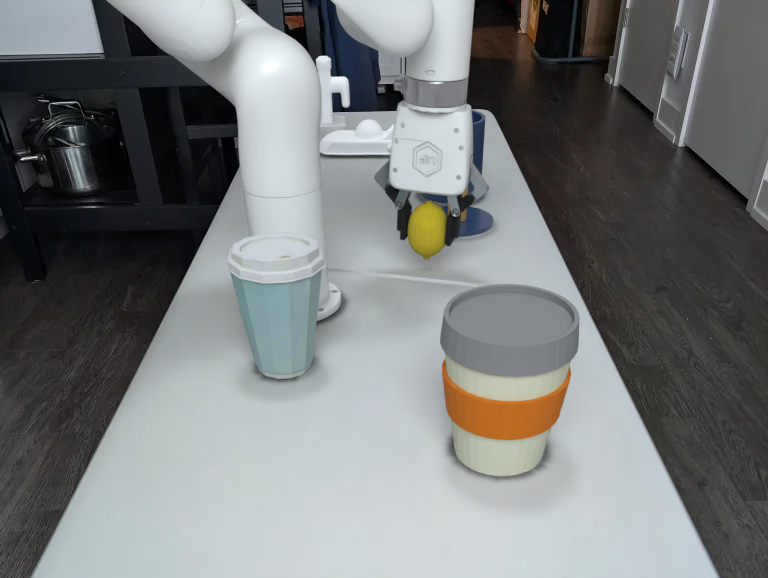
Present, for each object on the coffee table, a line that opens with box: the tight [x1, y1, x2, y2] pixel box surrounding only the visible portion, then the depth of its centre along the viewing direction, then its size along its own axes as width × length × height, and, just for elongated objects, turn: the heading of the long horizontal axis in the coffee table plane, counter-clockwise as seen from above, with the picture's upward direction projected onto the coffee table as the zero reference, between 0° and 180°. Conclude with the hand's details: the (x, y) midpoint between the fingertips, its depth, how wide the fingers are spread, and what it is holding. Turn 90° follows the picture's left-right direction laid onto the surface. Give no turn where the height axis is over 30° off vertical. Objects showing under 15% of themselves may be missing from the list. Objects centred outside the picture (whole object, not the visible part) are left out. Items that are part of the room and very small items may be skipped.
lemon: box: [407, 199, 447, 261], centre depth 107 cm, size 6×6×8 cm
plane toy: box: [320, 118, 394, 156], centre depth 154 cm, size 10×20×6 cm, turn 84°
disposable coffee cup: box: [226, 232, 325, 380], centre depth 89 cm, size 11×11×15 cm
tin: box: [419, 109, 486, 205], centre depth 132 cm, size 10×10×12 cm
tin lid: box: [440, 185, 494, 237], centre depth 124 cm, size 11×11×7 cm
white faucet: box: [315, 55, 351, 142], centre depth 156 cm, size 7×9×15 cm
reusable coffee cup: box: [439, 283, 580, 477], centre depth 76 cm, size 13×12×15 cm
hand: (427, 238), depth 108 cm, fingers closed on lemon, 5 cm apart
